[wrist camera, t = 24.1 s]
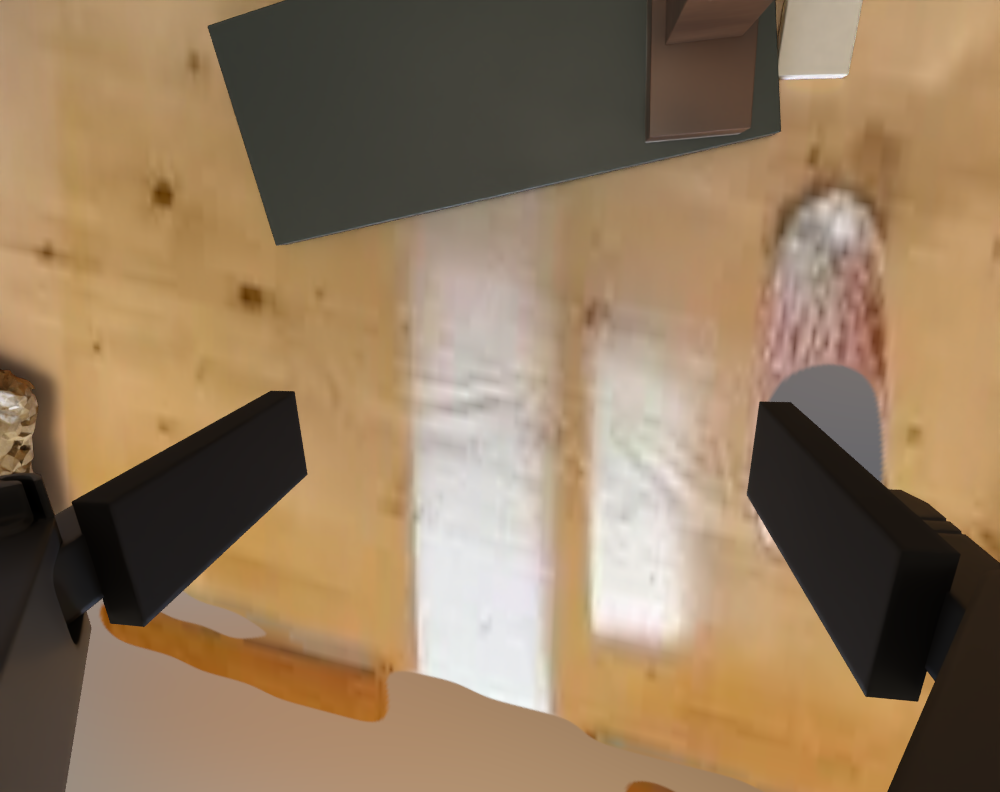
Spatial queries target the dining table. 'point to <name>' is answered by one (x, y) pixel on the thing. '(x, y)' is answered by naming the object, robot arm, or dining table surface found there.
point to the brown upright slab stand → (700, 67)
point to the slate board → (445, 102)
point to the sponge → (16, 424)
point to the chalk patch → (817, 38)
